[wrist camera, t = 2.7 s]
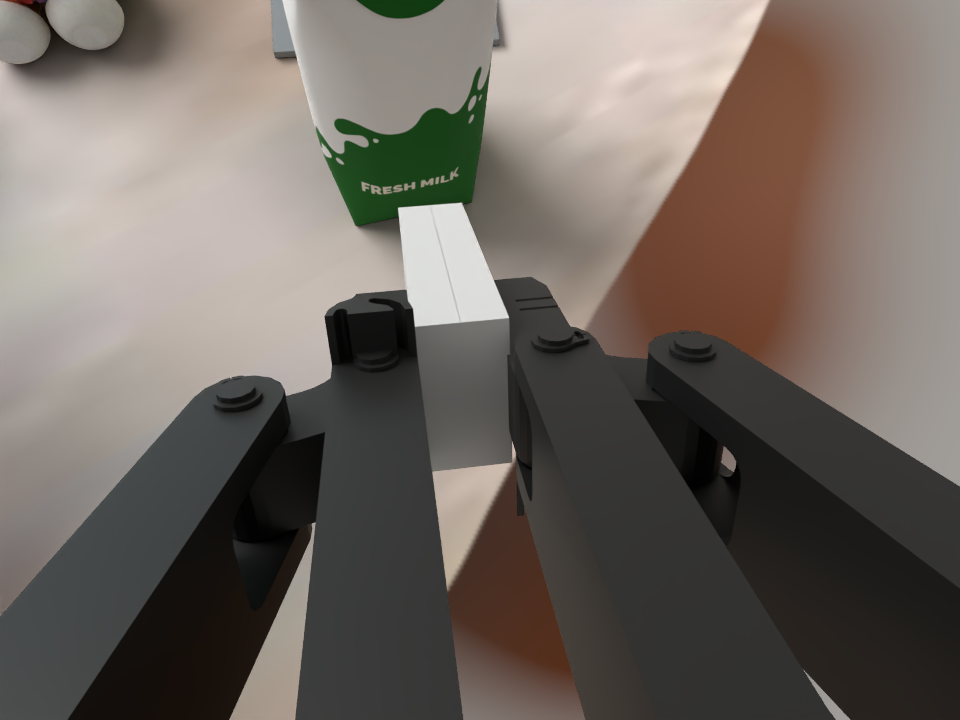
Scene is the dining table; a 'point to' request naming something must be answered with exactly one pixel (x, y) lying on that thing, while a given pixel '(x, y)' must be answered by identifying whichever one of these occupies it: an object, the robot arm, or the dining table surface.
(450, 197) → the fresh milk carton
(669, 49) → the dining table surface
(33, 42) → the rainbow cloud toy
